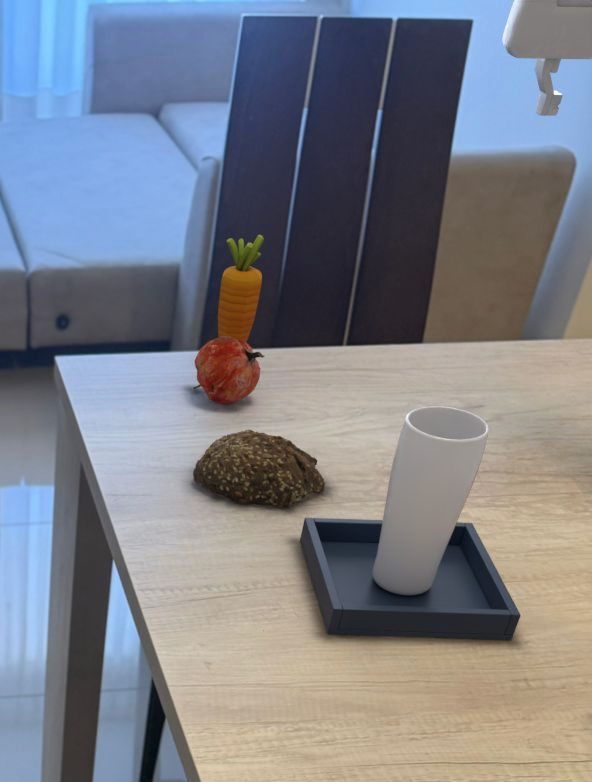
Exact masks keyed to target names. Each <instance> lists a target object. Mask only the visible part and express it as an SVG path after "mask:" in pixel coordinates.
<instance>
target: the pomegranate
mask: <svg viewBox="0 0 592 782" xmlns="http://www.w3.org/2000/svg"><path fill="white" fill-rule="evenodd" d="M258 358H265V355H263V354H262V353H261V352H260V351H254V352H253V347H252V346H251V345H250V344H249V343H247V342H245V341H243V340H236V339H234V338H232V337H229V336H221V337H219V336H218V337H216V338H213V339H211V340H209V341H207V342H206V343H205V344H204V345H203V346H201V348H200V349H199V351H198V353H197V355H196V356H195V359H194V366H195V369H196V371H197V372H196V381H197V383H198V385H196V386H193V390H194V391H195V390H197V389H198V388H202V390H203V391H204V393H205V394H206V395H207V397H208V400H209V401H210V402H212V403H214V404H218V405H223V406H225V405H226V406H227V405H231V404H234V403H237V402H238V401H240V400H241V399H244V398H246V397H248V396H249V395H250V394H252V392H254V390H255V389H256V387H257V385H258V383H259V381H260V376H261V367H260V363H259V361H258V360H257V359H258Z"/></svg>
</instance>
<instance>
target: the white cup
mask: <svg viewBox="0 0 592 782" xmlns="http://www.w3.org/2000/svg"><path fill="white" fill-rule="evenodd" d="M489 434H490V427H489V425H488V423H487V422H486V421H485V420H484V419H483V418H482V417H480V416H478V415H477V414H474V413H472V412H470V411H468V410H464V409H460V408H455V407H451V406H450V407H449V406H441V405H440V406H438V405H432V406H431V405H430V406H422V407H418V408H414V409H413V410H411V411H409V412H408V413H407V414H406V415H405V417H404V421H403V424H402V427H401V430H400V433H399V436H398V439H397V444H396V447H395V451H394V455H393V460H392V463H391V468H390V475H389V480H388V487H387V493H386V499H385V505H384V510H383V517H382V520H383V522H382V528H381V533H380V539H379V545H378V550H377V555H376V559H375V563H374V567H373V572H372V575H373V579H374V581H375V582H376V583H377V584H378V585H379V586H380V587H381V588H383V589H384V590H386V591H389V592H391V593H394V594H398V595H407V596H410V595H418V594H422V593H424V592H426V591H427V590H429V589H430V588H431V586H432V585H433V583H434V580H435V577H436V573H437V570H438V567H439V565H440V562H441V560H442V557H443V555H444V552H445V550H446V547H447V545H448V543H449V540H450V538H451V535H452V533H453V531H454V528H455V526H456V523H457V522H458V521H459V519H460V516H461V514H462V511H463V509H464V507H465V504H466V502H467V500H468V497H469V495H470V493H471V490H472V488H473V486H474V483H475V480H476V477H477V474H478V472H479V469H480V466H481V463H482V460H483V456H484V452H485V449H486V445H487V441H488V438H489Z"/></svg>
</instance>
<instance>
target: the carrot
mask: <svg viewBox="0 0 592 782" xmlns="http://www.w3.org/2000/svg"><path fill="white" fill-rule="evenodd" d="M264 241H265V239H264V236H263V235H261V234H258V235H256V238H255V240H254V241H253V243H252V242H247V244H246V245H245V242H244V239H243V238H239V239H238V246H237V243H236V242H235V240H234V238H232V237H230V238H228V239H227V240H226V244H227V246H228V248H229V250H230V253H231V256H232V258H233V261H234V264H235V265H233V266H229V267H227V268H226V269H224V271H223V273H222V277H221V282H220V289H219V299H218V308H217V310H218V311H217V334H218V338H219V337H221V336H229V337H232V338H234V339H236V340H243V341H245V342H246V343H247V342H248V339H249V337H250V334H251V331H252V328H253V326H254V322H255V319H256V314H257V310H258V305H259V300H260V294H261V289H262V282H263V275H262V272H261V270H259V269H257V268H256V267H253V266H252V264H254V262H256V261H257V260H258V259H259V258H260V257H261V256H262V253H261V252H259V250H260V248H261V247H262V245H263V243H264Z"/></svg>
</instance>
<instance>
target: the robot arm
mask: <svg viewBox="0 0 592 782" xmlns="http://www.w3.org/2000/svg"><path fill="white" fill-rule="evenodd" d="M504 27H505V28H504V30H503V34H502V44H503V47H504V49H505V51H506V53H507V54H508V55H510V56H511V57H514V58H516V59H533V60H534V59H536V61H535V66H534V72H535V76H536V81H537V84H538V89H539V91H540V93H539V96H538V99H537V103H536V107H535V114H536V115H538V116H540V117H541V116H542V117H546V116H549V117H550V116H553V117H554V116H557V114H558V112H559V109H560V108H559V105H560V104H561V103H562V100H563V99H562V98H563V94H562V93H560V92H559V91H558V90H555V89H554V85H553V79H552V75H551V74H557V72H558V70H559V67H560V64H561V60H592V0H514V1H513V3H512V6H511V8H510V12H509V15H508V18H507V20H506V23H505V26H504Z"/></svg>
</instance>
